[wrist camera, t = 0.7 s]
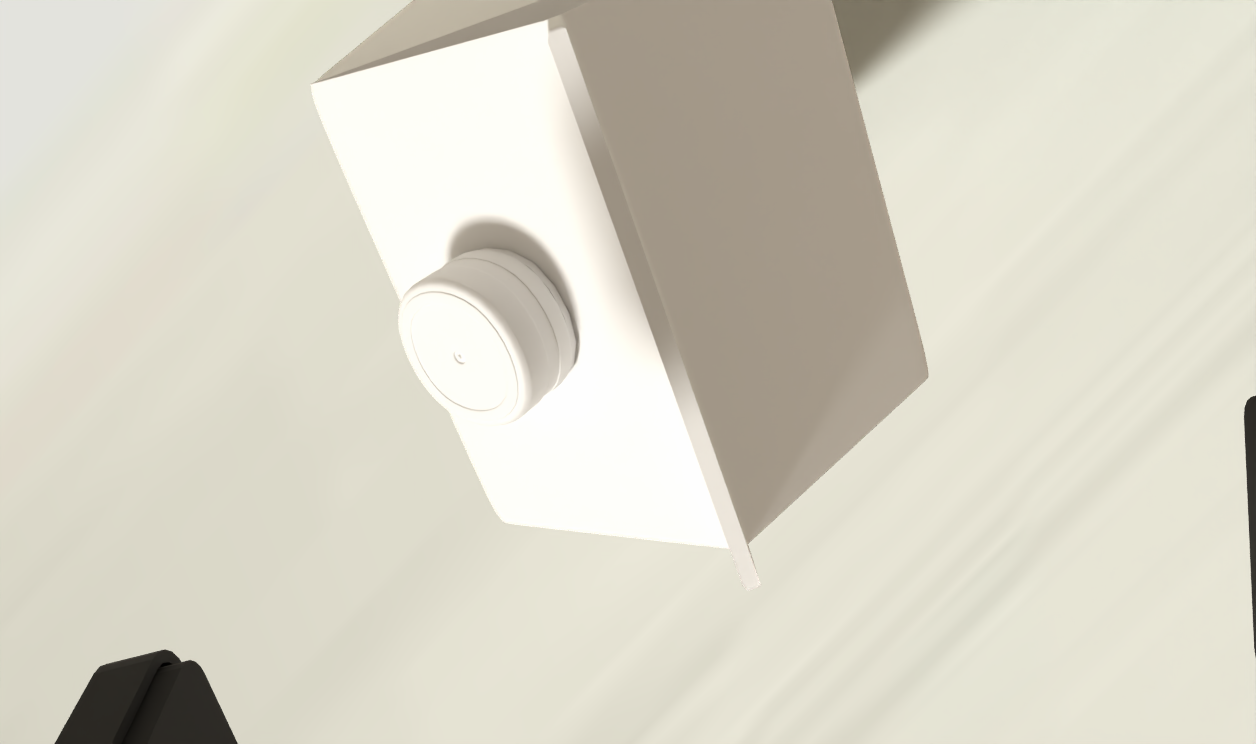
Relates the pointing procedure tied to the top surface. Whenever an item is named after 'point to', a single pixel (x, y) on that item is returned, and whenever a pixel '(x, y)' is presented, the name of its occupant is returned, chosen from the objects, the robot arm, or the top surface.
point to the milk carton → (632, 252)
